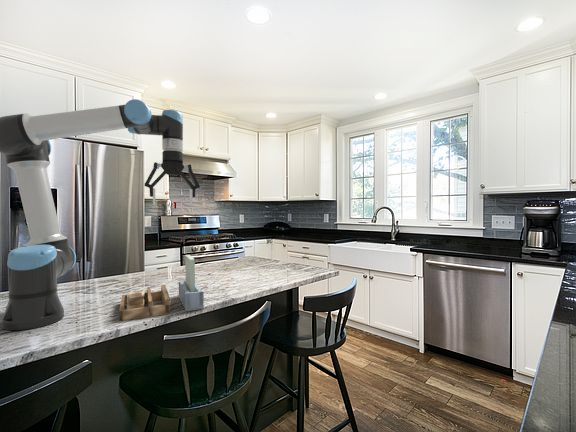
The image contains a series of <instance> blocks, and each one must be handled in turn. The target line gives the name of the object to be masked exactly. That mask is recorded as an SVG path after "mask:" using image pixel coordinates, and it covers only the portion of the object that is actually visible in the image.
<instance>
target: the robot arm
mask: <svg viewBox="0 0 576 432" xmlns="http://www.w3.org/2000/svg"><path fill="white" fill-rule="evenodd" d="M123 129H127V131H128V133H130V134H135V135H139V136H140V135H146V136H150V135H151V136H162V141H161V142H162V143H161V146H162V147H161V148H162V152H161V153H162V154H161V155H162V157H161V158H162V161H161V163H160V162H159V163H158V162H153V166H152V167H153V168H152V169H151V171H150V174H149V175H148V177H147V179H146V181H145V183H144V187H146V188H149V197H150V198H151V197H152V206H153V207H154V206H156V188H155V186H156V185H157V184H158V183H159V182H160V181H161V180H162V179H163V177H164V176H166V175H167V176H180V177H181V178H182V180H184V182H185V183H186V185H188V186H189V188H190V189H189V206H190V207H193V198H195V197H196V189H199V188H200V187H201V185H200V184H199V182H198V179H197V177H196V176H195V174H194V171H193V169H192V165H191V164H184V154H183V151H184V147H183V145H184V144H183V143H184V142H183V141H184V140H183V139H184V137H183V136H184V123H183V114H182V113H181V112H180V111H178V110H175V109H165V110H162V113H161V115H160V114H158V115H156V114H152V111H151V109H150V107H149V106H148V104H147V103H146V102H144V101H143V100H141V99H135V98H134V99H130V100H127V102H126V103H125V104H120V105H112V106H105V107H97V108H86V109H80V110H72V111H64V112H57V113H56V112H55V113H48V114H39V115H30V114H28V113H18V114H11V115H5V116H0V154H3V155H4V157H5V162H6V166H7V167H8V168H10V169H11V170H13V171H14V174H15V178H16V182H17V186H18V187H17V188H18V191H19V196H20V201H21V203H22V207H23V213H24V216H25V217H24V218H25V220H26V224H27V228H28V232H29V237H30V239H29V241H28V242H27V243H26V244H25V245H26V246H20V247H17V248H14V249H13V250H10V252H9V253H8V255H7V262H6V263H7V264H6V265H7V279H8V280H7V282H8V285H7V286H8V302H7V305H6V306H5V310H4V313H3V315H2V318H1V329H3V330H5V331H22V330H30V329H36V328H40V327H44V326H49V325H51V324H53V323H56V322H58V321H61V320H63V318H64V317H65V308H64V307H63V304H62V302H61V299H60V297H59V295H58V278H60V277H63V276H65V275H67V274H68V273H69V272H70V271H71V270H72V269H73V268H74V266H75V264H76V261H77V255H76V252H75V250H74V249H73V248H72V247H71V246H70V244H69V240H68V236H65V235H63V234H62V232H61V229H60V223H59V219H58V215H57V210H56V206H55V202H54V197H53V193H52V189H51V183H50V181H49V176H48V171H47V168H48V167H49V166H50V164H51V160H50V157H49V156H50V155H51V152H52V144H51V140H57V139H64V138H71V137H76V136H84V135H85V136H86V135H91V134H97V133H104V132H110V131H111V132H112V131H117V130H123ZM160 167H161V169H162V170H163V171H162V172H161V174H159V175H158V177H157V178H156V179H155V180H154V181H153V182H152V183H151V184H150V182H151V181H152V179H153V177H154V175H155V174H156V172H157V170H159V168H160ZM184 169H185V171H187V172H188V174H189V177H190V178H191V180H192V182H193V183H192V182H191V181H190V179H189V178H188V177H187V176H186V174H185V173H184V172H183V170H184Z"/></svg>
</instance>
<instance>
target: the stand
mask: <svg viewBox="0 0 576 432" xmlns="http://www.w3.org/2000/svg"><path fill="white" fill-rule="evenodd" d="M178 298H179V299H180V302H181V304H182V306H183V309H184V310H185V312H190V311H197V310H202V309H203V310H204V306H205V305H204V303H205V301H204V299H205V298H204V291H203V290H202V289H201V288H200V286H199V285H198V284H197V282H195V292H191V293H190V292H189V291H188V289H187V287H186V280H180V281H178Z"/></svg>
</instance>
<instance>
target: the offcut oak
mask: <svg viewBox="0 0 576 432" xmlns="http://www.w3.org/2000/svg"><path fill="white" fill-rule="evenodd" d="M141 307H145V304H144V299H143V304H139V305H132V306H130V305H129V303H126V309H134V308H141Z"/></svg>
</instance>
